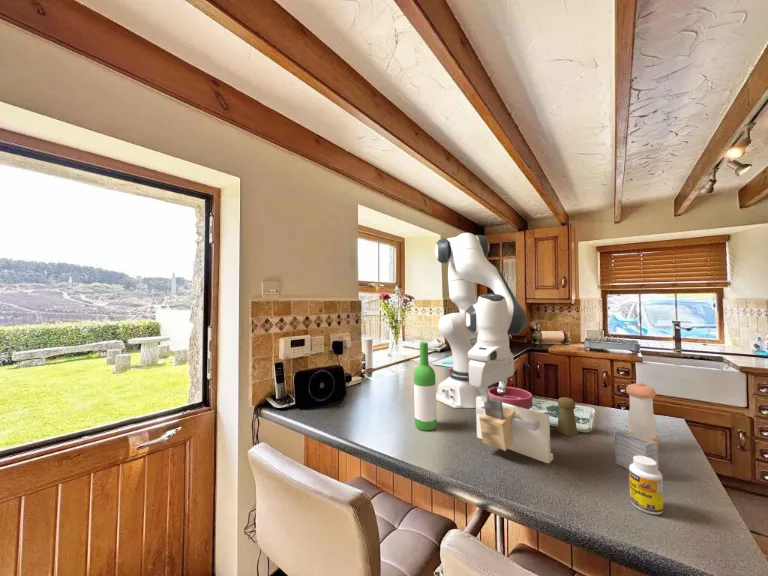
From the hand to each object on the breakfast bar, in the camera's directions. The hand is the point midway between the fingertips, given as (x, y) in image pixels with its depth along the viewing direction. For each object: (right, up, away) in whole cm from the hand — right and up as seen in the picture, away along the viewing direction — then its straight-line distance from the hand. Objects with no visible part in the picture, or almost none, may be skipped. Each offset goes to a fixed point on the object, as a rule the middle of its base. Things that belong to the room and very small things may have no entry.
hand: (493, 396), depth 89 cm
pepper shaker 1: (+30, -17, +14) cm, 37 cm away
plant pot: (+12, -17, +16) cm, 27 cm away
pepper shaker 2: (+46, -16, +3) cm, 49 cm away
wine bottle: (-17, -18, +20) cm, 32 cm away
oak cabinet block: (+3, -13, +2) cm, 14 cm away
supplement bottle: (+25, -16, -22) cm, 38 cm away
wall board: (+7, -17, +4) cm, 19 cm away
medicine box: (+35, -16, -9) cm, 39 cm away
